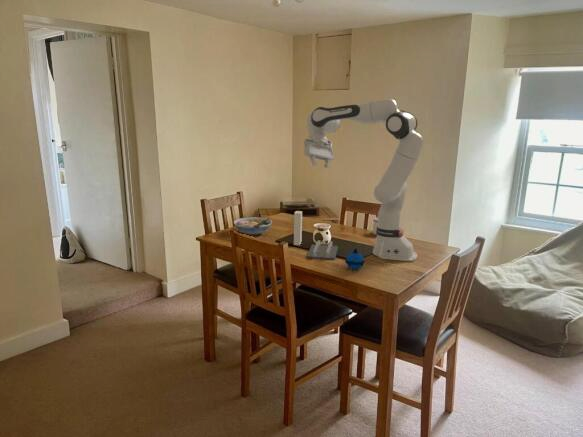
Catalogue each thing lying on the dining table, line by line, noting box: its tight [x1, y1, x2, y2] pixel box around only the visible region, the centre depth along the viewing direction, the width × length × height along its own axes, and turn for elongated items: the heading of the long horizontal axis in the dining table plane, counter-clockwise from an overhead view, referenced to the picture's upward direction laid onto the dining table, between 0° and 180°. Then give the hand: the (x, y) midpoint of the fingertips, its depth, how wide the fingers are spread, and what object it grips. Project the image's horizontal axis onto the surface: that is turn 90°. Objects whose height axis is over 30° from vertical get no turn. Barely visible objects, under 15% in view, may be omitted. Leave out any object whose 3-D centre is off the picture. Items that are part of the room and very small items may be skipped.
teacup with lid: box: [372, 216, 378, 236], centre depth 263 cm, size 12×9×12 cm
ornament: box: [345, 248, 365, 271], centre depth 202 cm, size 9×9×10 cm
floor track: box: [306, 239, 339, 261], centre depth 226 cm, size 20×14×4 cm
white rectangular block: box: [293, 210, 303, 246], centre depth 239 cm, size 5×4×18 cm
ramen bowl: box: [233, 216, 273, 236], centre depth 258 cm, size 25×23×8 cm
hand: (320, 166), depth 230 cm, fingers open, 8 cm apart
